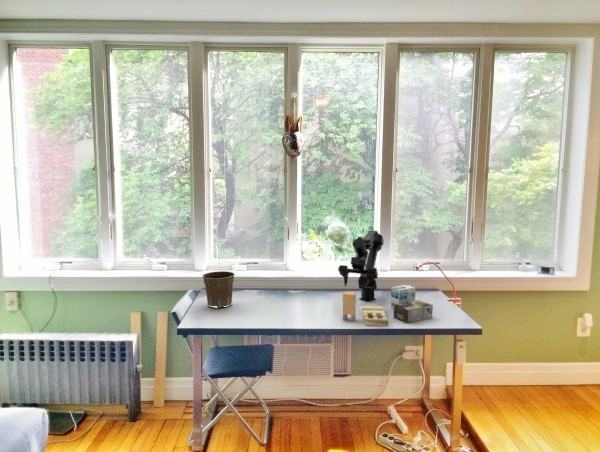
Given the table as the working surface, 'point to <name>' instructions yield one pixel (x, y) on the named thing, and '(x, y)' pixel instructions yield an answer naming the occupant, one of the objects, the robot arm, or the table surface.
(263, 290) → the table surface
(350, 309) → the tan tall block
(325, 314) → the table surface
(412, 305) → the coffee box
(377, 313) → the beige flat slab
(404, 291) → the light bulb box
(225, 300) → the plant pot
